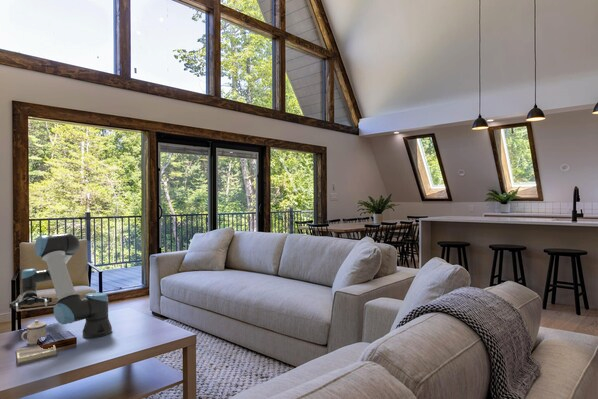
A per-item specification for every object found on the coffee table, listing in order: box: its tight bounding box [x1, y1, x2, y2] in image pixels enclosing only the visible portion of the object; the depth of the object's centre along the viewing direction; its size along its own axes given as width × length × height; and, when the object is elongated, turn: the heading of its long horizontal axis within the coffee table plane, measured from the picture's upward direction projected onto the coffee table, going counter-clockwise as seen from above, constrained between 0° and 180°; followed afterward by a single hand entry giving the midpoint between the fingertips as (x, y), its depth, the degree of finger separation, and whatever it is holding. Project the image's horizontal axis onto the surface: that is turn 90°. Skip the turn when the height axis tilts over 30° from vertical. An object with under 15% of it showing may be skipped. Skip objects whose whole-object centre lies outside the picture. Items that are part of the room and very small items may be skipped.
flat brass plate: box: [15, 344, 58, 366], centre depth 192 cm, size 20×16×1 cm
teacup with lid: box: [20, 319, 47, 345], centre depth 207 cm, size 12×9×12 cm
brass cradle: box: [16, 344, 58, 363], centre depth 187 cm, size 8×16×2 cm, turn 128°
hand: (32, 305), depth 214 cm, fingers open, 13 cm apart
